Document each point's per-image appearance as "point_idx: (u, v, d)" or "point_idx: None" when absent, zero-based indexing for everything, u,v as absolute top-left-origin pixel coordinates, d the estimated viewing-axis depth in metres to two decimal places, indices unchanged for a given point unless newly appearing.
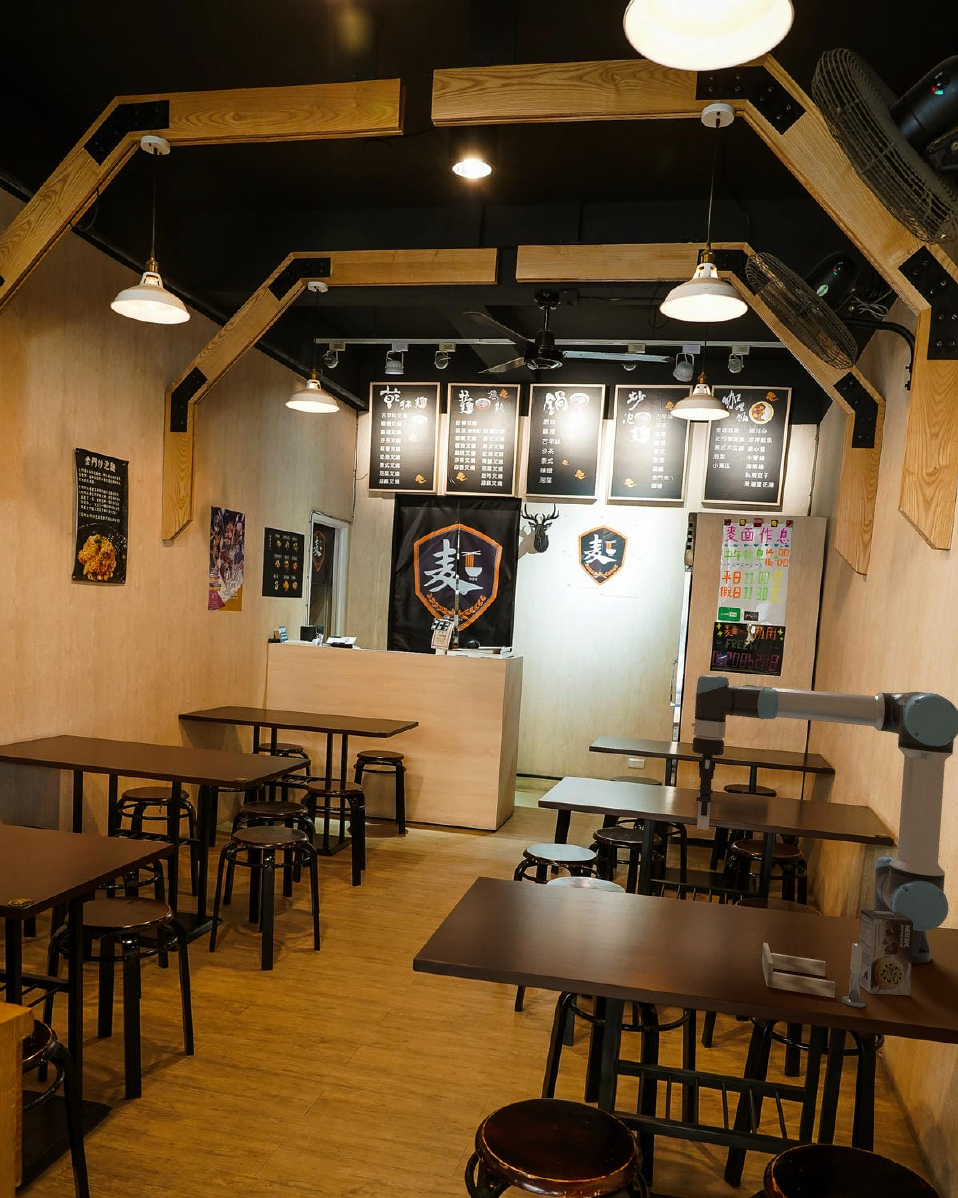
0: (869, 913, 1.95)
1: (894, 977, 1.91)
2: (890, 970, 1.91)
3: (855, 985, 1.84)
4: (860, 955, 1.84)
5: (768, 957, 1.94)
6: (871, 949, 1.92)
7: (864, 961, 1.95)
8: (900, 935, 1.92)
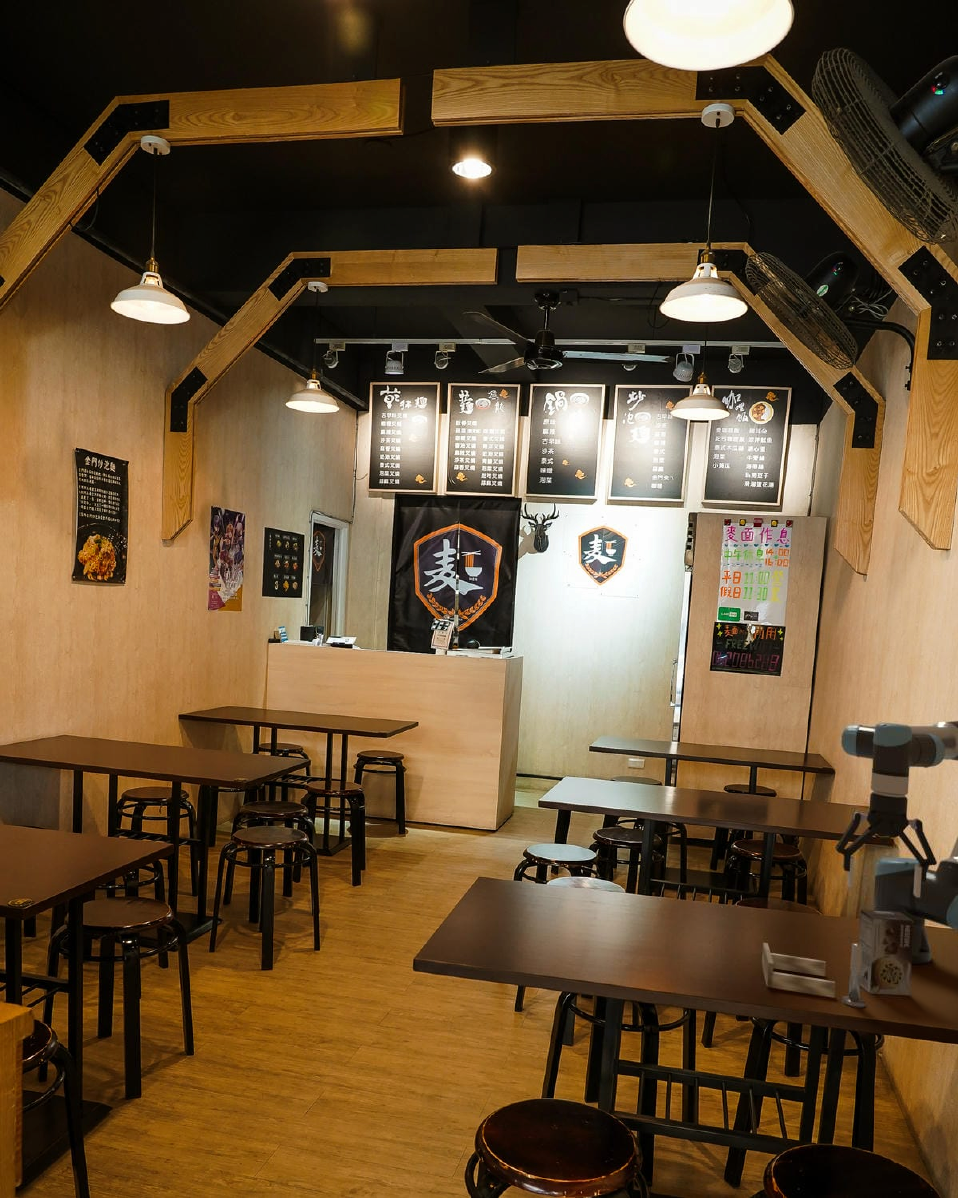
0: (869, 913, 1.95)
1: (894, 977, 1.91)
2: (890, 970, 1.91)
3: (855, 985, 1.84)
4: (860, 955, 1.84)
5: (768, 957, 1.94)
6: (871, 949, 1.92)
7: (864, 961, 1.95)
8: (900, 935, 1.92)
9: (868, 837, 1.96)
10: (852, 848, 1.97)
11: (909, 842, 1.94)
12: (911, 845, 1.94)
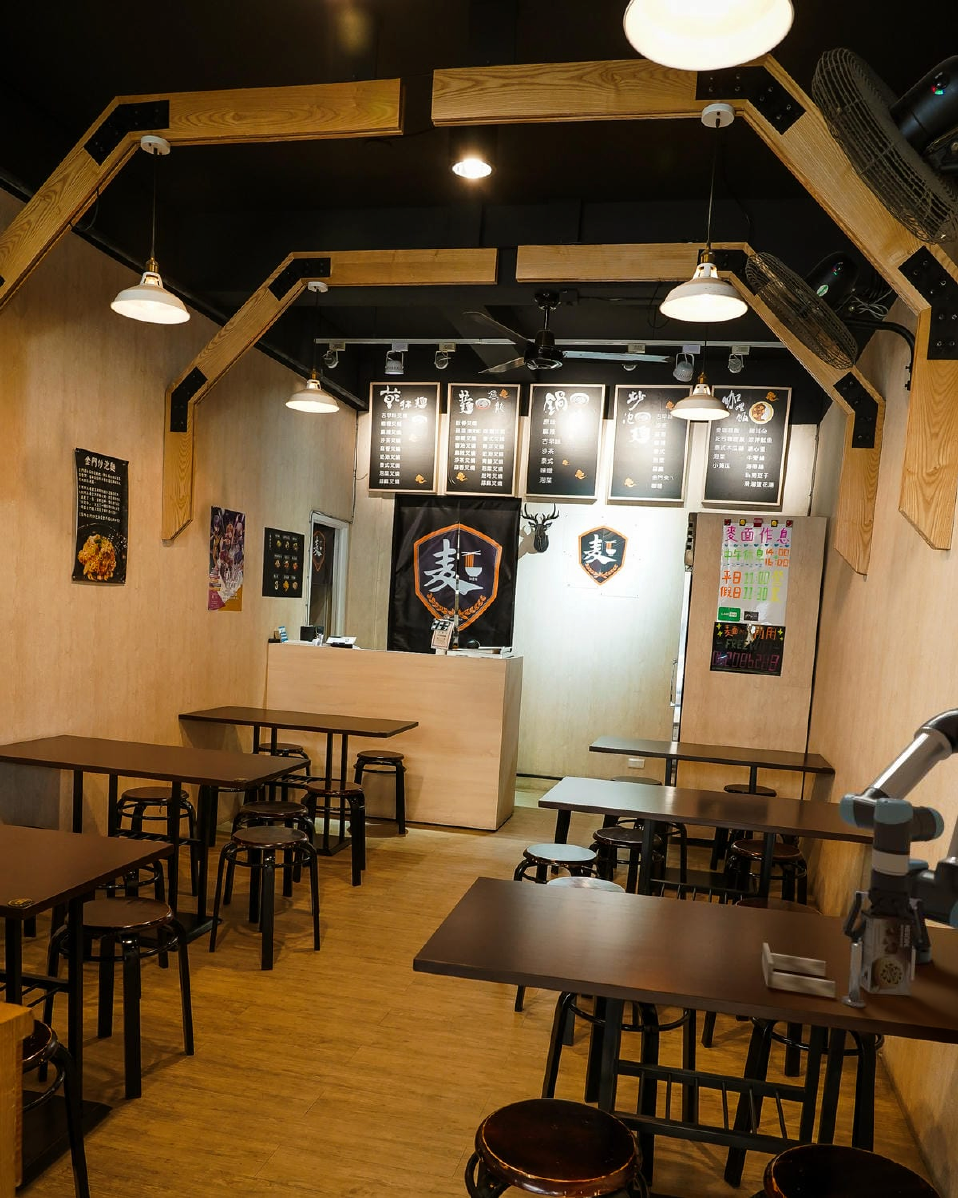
0: (869, 913, 1.95)
1: (894, 976, 1.91)
2: (890, 970, 1.91)
3: (855, 985, 1.84)
4: (860, 955, 1.84)
5: (768, 957, 1.94)
6: (871, 949, 1.92)
7: (864, 961, 1.95)
8: (900, 935, 1.92)
9: None
10: (858, 931, 1.95)
11: None
12: None
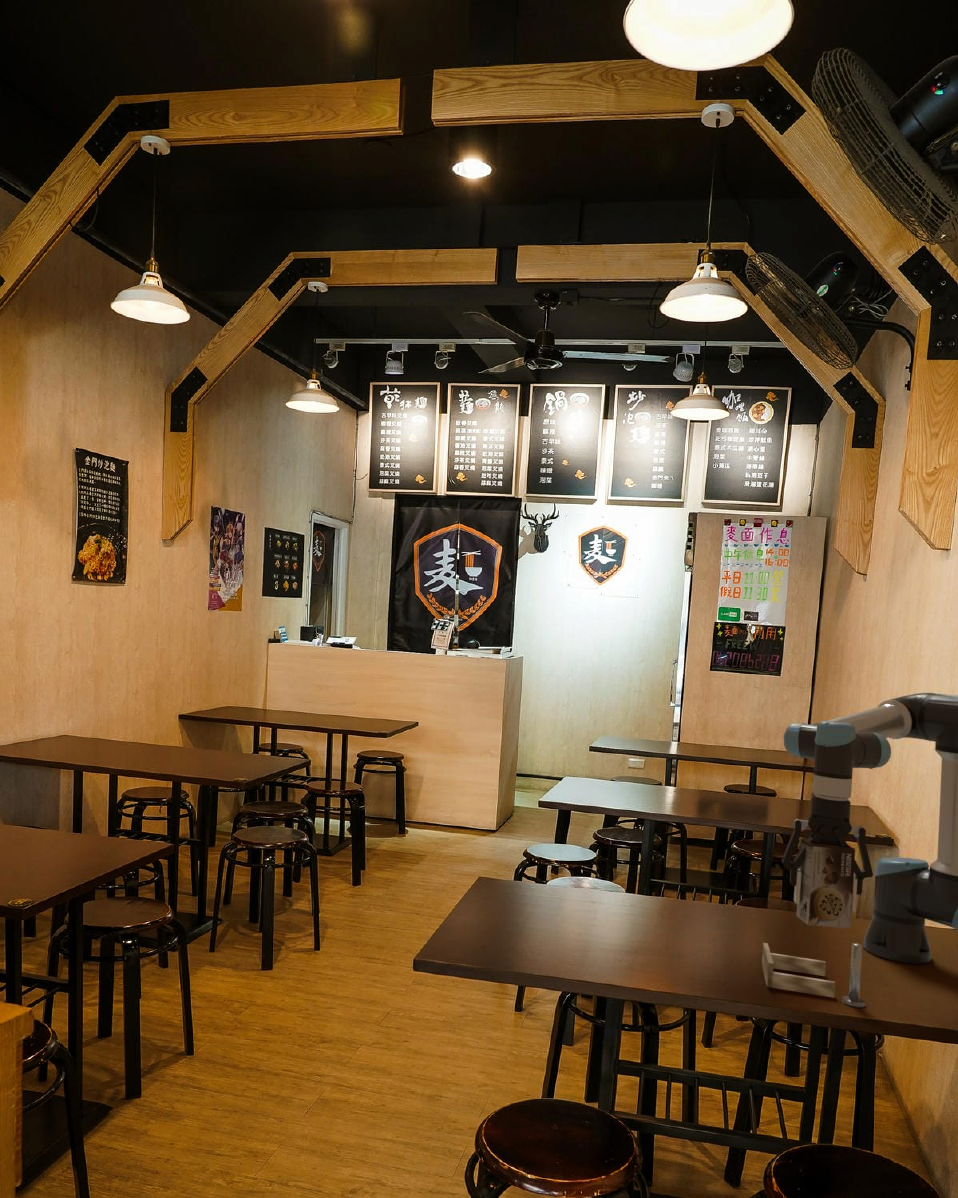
0: (809, 842, 1.84)
1: (834, 908, 1.80)
2: (830, 900, 1.80)
3: (855, 985, 1.84)
4: (860, 955, 1.84)
5: (768, 957, 1.94)
6: (810, 879, 1.81)
7: (803, 892, 1.83)
8: (841, 864, 1.81)
9: None
10: (798, 860, 1.84)
11: None
12: None
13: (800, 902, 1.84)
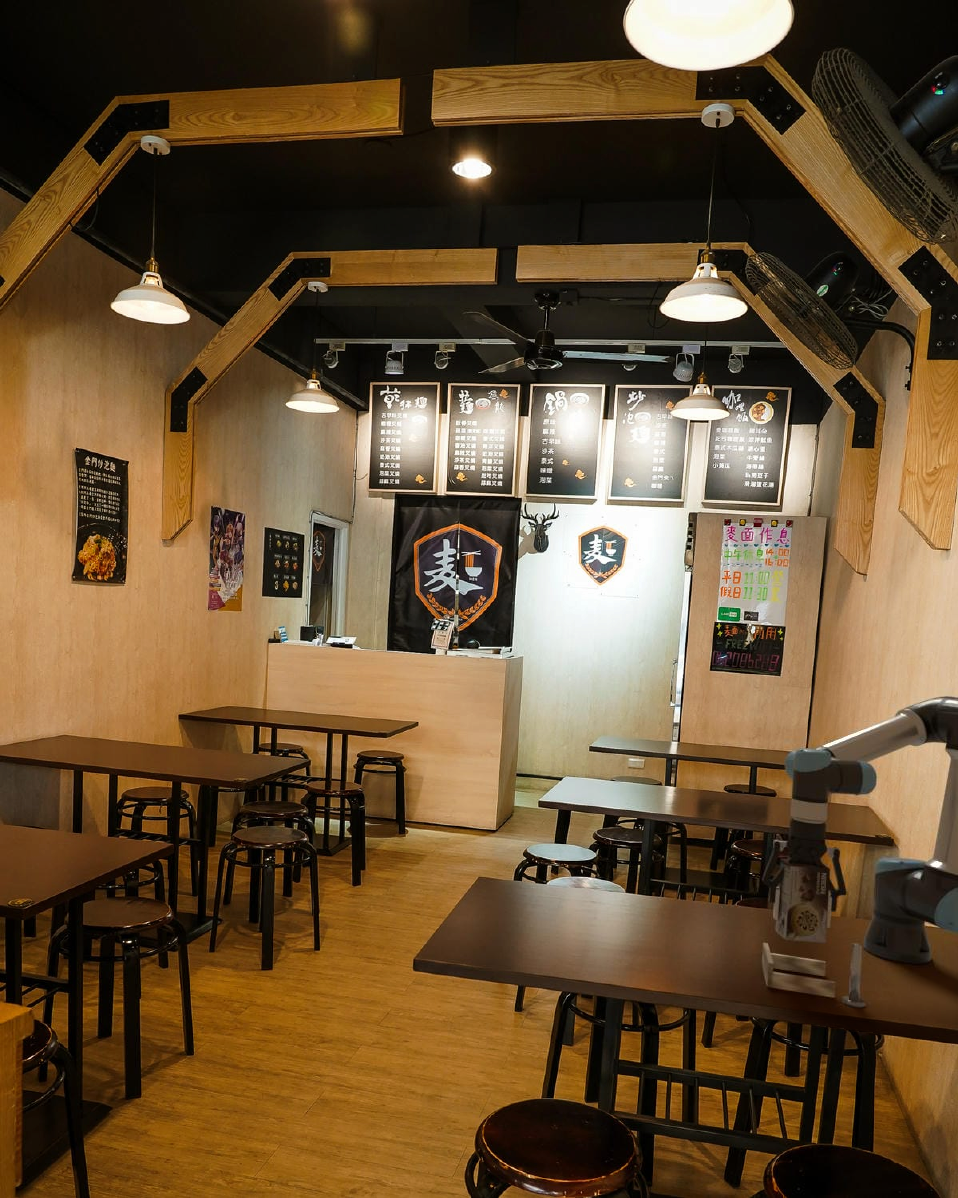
0: (787, 861, 1.96)
1: (810, 924, 1.93)
2: (806, 917, 1.93)
3: (855, 985, 1.84)
4: (860, 955, 1.84)
5: (768, 957, 1.94)
6: (787, 896, 1.93)
7: (781, 909, 1.96)
8: (816, 882, 1.93)
9: None
10: (776, 879, 1.96)
11: None
12: None
13: (778, 918, 1.97)
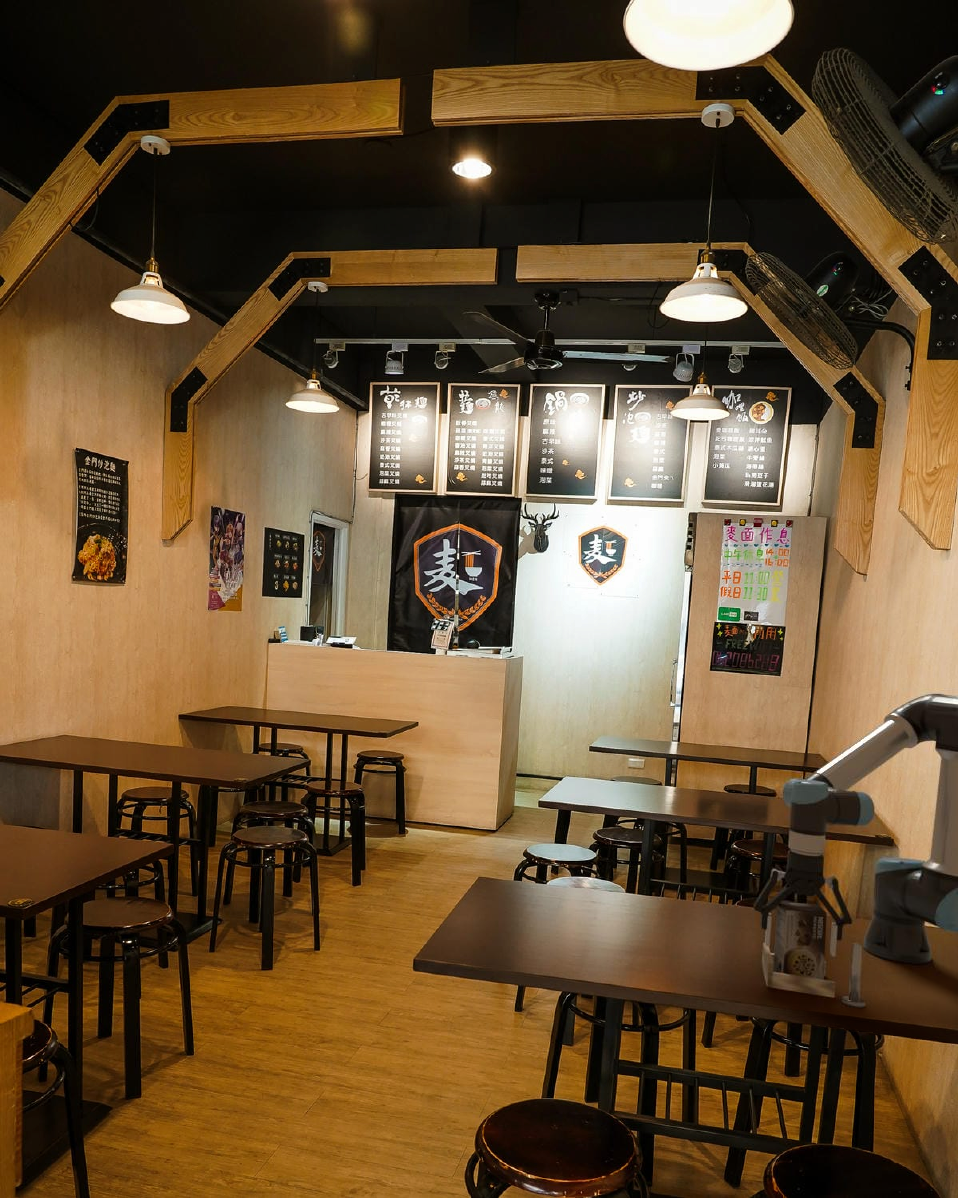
0: (784, 905, 1.96)
1: (807, 968, 1.92)
2: (803, 961, 1.92)
3: (855, 985, 1.84)
4: (860, 955, 1.84)
5: (768, 957, 1.94)
6: (784, 940, 1.93)
7: (778, 952, 1.95)
8: (813, 926, 1.93)
9: (785, 895, 1.96)
10: (769, 906, 1.96)
11: (825, 901, 1.94)
12: (827, 904, 1.94)
13: (776, 961, 1.96)
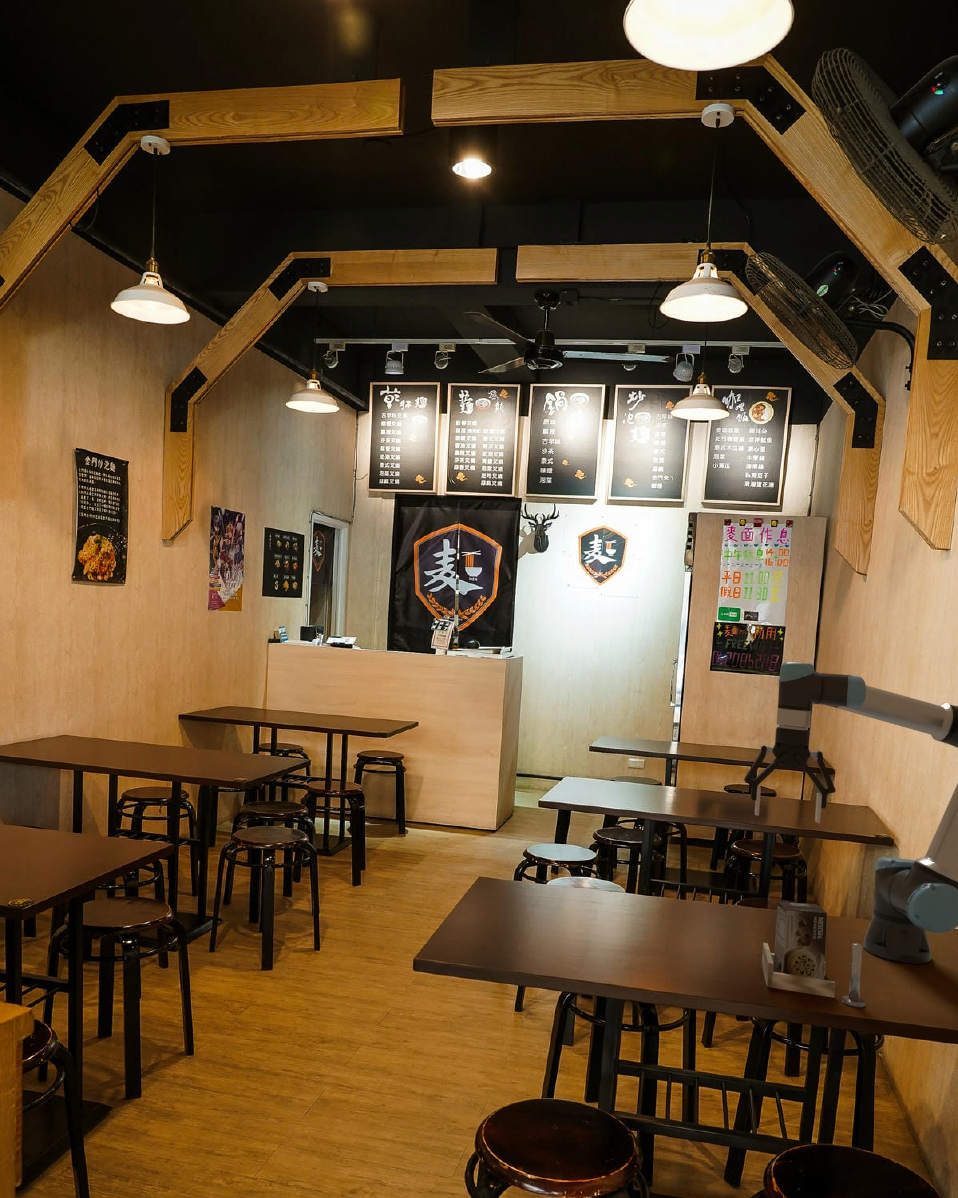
0: (784, 905, 1.96)
1: (807, 968, 1.92)
2: (803, 961, 1.92)
3: (855, 985, 1.84)
4: (860, 955, 1.84)
5: (768, 957, 1.94)
6: (784, 940, 1.93)
7: (778, 952, 1.95)
8: (813, 927, 1.93)
9: (773, 768, 2.10)
10: (758, 778, 2.10)
11: (810, 772, 2.08)
12: (812, 774, 2.08)
13: (776, 961, 1.96)
